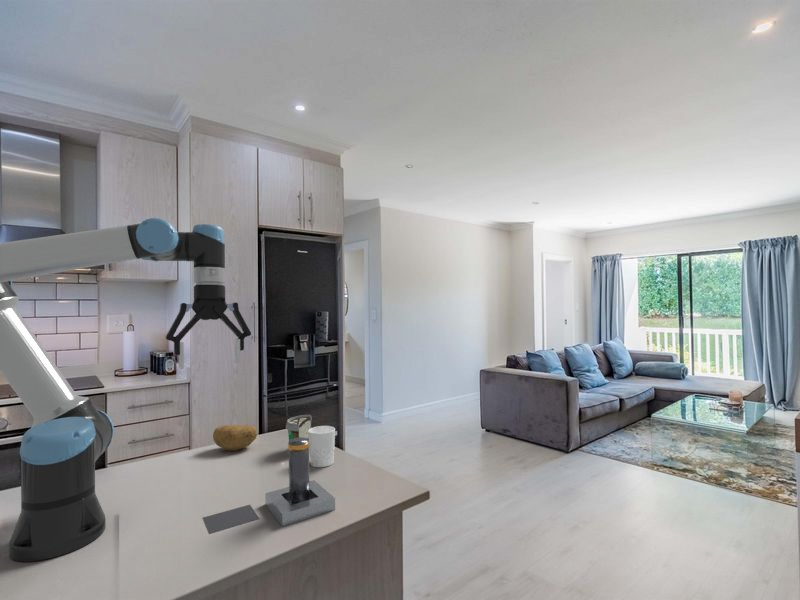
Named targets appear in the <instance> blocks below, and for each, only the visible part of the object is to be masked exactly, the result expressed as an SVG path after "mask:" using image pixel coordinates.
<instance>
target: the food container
mask: <svg viewBox="0 0 800 600" xmlns="http://www.w3.org/2000/svg"><path fill="white" fill-rule="evenodd" d="M312 421H313V420H312V415H311V414H303V415H302V414H301V415H297V416H293V417H290V418H288V419H287V421H286V424H285V429H286V430H287V431H288V432H287V434H288V441H289V440H291V439H294V438H300V437H303V438H308V439H309V436H308V430H309V429H311V428H312Z"/></svg>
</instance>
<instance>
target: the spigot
mask: <svg viewBox="0 0 800 600" xmlns="http://www.w3.org/2000/svg"><path fill="white" fill-rule="evenodd" d="M287 449H288V483H289V484H288V485H289V486H288V487H289V504H290V505H293V504H297V503H300V502H303V501H307V500H310V485H309V481H310V451H309V439H308V438H303V437H300V438H294V439H291V440H289V439H288V443H287Z"/></svg>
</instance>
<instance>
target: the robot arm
mask: <svg viewBox="0 0 800 600" xmlns="http://www.w3.org/2000/svg"><path fill="white" fill-rule="evenodd" d="M225 242H226V239H225V231H224V229H223V227H221V226H219V225H216V224H208V223H204V224H202V223H200V224H195V225H194V226H193V228H192V231H189V232H188V231H187V232H186V231H178V230H176V227H174V225H172V224H171V223H170V222H169V221H167V220H166V219H163V218H160V217H150V218H147V219H145V220H143V221H142V222H140V223H135V224H134V223H133V224H128V225H120V226H113V227H106V228H99V229H98V228H97V229H92V230H86V231H84V230H83V231H80V232H79V231H77V232H70V233H63V234H62V233H61V234H56V235H49V236H42V237H35V238H28V239H27V238H26V239H20V240H14V241H5V242H0V373H1V375H2V376H3V377H4V379H5V380H6V382H7V384H9V386H10V387H11V389H12V390H13V391H14V392H15V394H16V395H17V397H18V398H19V399H20V401H21V402H22V403H23V404H24V406H25V407H26V409H27V410H28V412H29V413H30V414H31V415H32V418H33V423H32V425H31V428H29V429H28V430H26V431H25V432H24V434H23V436H22V437H21V441H20V442H21V443H20V448H19V456H20V496H21V497H20V500H21V501H20V503H21V506H20V507H21V508H20V513H19V515H18V518H17V521H16V524H15V527H14V528H13V529H14V530H13V531H12V534H11V536H10V539H9V542H8V556H9V558H10V559H11V560H13V561H16V562H22V563H23V562H29V563H30V562H37V561H38V562H39V561H43V560H48V559H52V558H56V557H60V556H64V555H66V554H68V553H71V552H73V551H76V550H78V549H80V548H83V547H85V546H88V545H89V544H90V543H92V542H93V541H95V540H96V539H97V538H99V537H100V536H101V535H102V534H103V533H104V531H105V530H106V515H105V513H104V510H103V508H102V505H101V503H100V501H99V499H98V496H97V494H96V462H97V460H98V459H99V458H100V456H102V455H103V454H104V453H105V452H106V451H107V450H108V449H109V447H110V445H111V443H112V441H113V437H114V433H115V428H114V422H113V421H112V419H111V417H110V416H109V415H108V414H107V413H106V412H104V411H102V410H100V409H97V407H96V406H95V405H94V404H93V402H92V401H91V399H90V398H89V397H87V396H80V395H78V394H77V393H76V392H75V390H74V389H73V388H72V386H71V384H70V383H69V381H68V379H66V377H65V376H64V374H63V373H62V372H61V371H60V369H59V368H58V366H57V365H56V363H55V362H54V360H53V359H52V358H51V356H50V355H49V353H48V352H47V350H46V349H45V348H44V347H43V345H42V343H41V342H40V340H39V339H38V338H37V336H36V335H35V333H34V332H33V331H32V329H31V328H30V327H29V325H28V324H27V322H26V320H25V319H24V318H23V315H21V314H20V312H19V311H18V309H17V304H18V303H19V301H20V298H19V296H18V295H17V293H16V292H15V290H14V289H13V281H18V280H24V279H29V278H35V277H40V276H45V275H47V276H48V275H52V274H58V273H63V272H68V271H75V270H80V269H81V270H82V269H85V268H92V267H99V266H102V265H104V266H105V265H109V264H114V263H115V264H116V263H120V262H121V263H122V262H126V261H133V260H140V259H141V260H144V261H153V262H159V261H160V262H164V261H165V262H193V283H194V284H195V285H194V286H193V303H192V304H191V303H185V302H182V303H180V305H179V312H177V313H178V314H177V315H176V317H175V319H174V320H173V323H172V325H170V328H169V330H168V332H167V334H166V335H165V339H166V340H167V341H170V342H173V353H174V355H175V356H178V368H179V369H185V368H184V367H185V366H184V362H185V361H184V357H185V355H184V349H185V348H184V347H185V346H184V345H185V344H184V341H181V340H182V339H183V338H184V337H185V336H186V335H187V334H188V333H189V332H190V330H192V328H193V327H194V326H195V325H196V324H197V323H198V322H199V321H200V320H202V321H209V320H213V321H217V320H219V319H220V320H221V321H222V322H223V323H224V325H226V327H227V328H228V329H229V330H231V332H232V333H233V334H234V335H235V336H236V337H237V338H234V363H235V364H239V365H240V364H241V351H244V349H245V339H246V338H247V337H250V336H251V335H252V333H251V331H250V328H249V326H248V325H247V323H246V321H245V319H244V317H243V314H241V312H240V310H239V309H240V308H239V303H238V302H232V303H231V302H230V303H227V302H226V286H225V285H224V284H225V283H226V266H225V265H226V243H225ZM191 309H192V311H194V313H195V314H194V315H193V316H192V317H191V319H190V320H189V321H188V323H186V325H184V327H183V328H182V329H181V330H180V331H179V332H178V333H177V334H176V336H174V335H175V333H176V332H177V330H178V328H179V326H180V325H181V322H182V320H183V319H184V317H185V315H186V313H188V312H189V311H190V310H191ZM227 309H228V310H229V311H230V312H232V314H233V315H234V318H235V320H236V322H237V323H238V325H239V327H240V329H241V330H240V329H239V328H238V327H237V326H236V325H235V324H234V323H233V322H232V321H231V319H230V318H229V317H228V316H227V315H226V314H225V312H226V310H227Z"/></svg>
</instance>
